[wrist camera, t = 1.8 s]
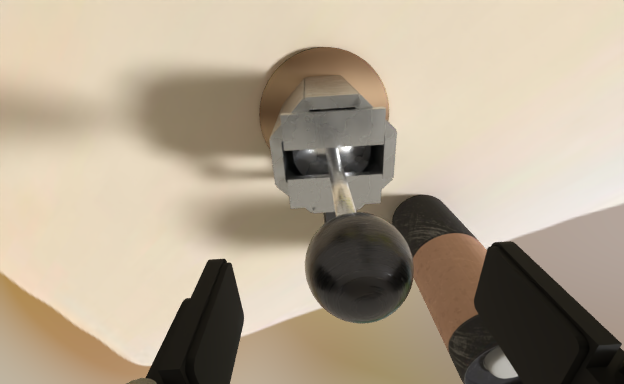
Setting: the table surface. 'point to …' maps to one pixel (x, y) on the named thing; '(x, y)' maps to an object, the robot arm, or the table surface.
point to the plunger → (354, 246)
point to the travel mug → (452, 287)
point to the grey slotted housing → (331, 143)
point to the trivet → (318, 64)
